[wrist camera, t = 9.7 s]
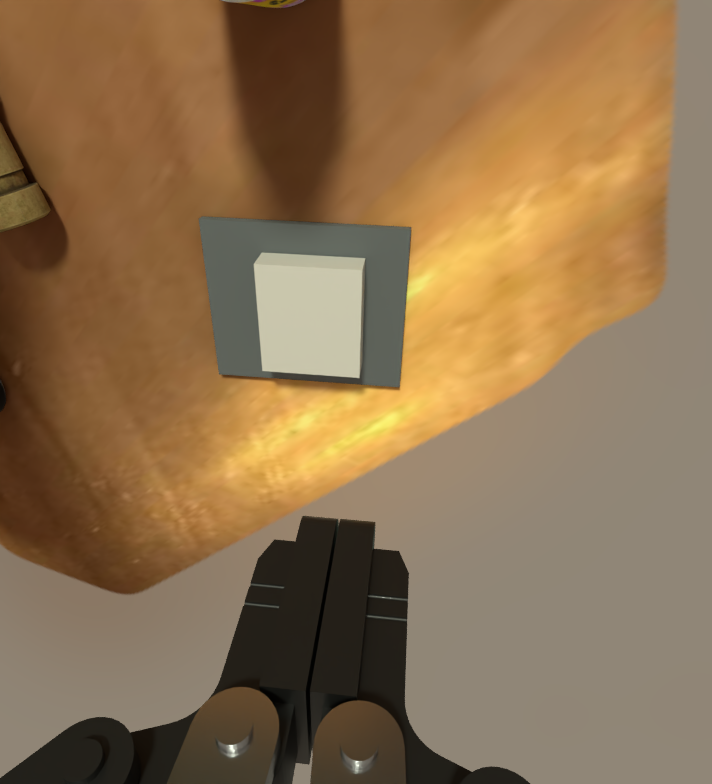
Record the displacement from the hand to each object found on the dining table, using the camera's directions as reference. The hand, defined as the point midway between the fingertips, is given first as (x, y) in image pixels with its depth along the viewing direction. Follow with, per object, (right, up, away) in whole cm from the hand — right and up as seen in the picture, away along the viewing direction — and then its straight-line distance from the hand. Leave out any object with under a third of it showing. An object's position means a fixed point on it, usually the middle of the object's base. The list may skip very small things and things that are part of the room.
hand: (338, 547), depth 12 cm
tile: (-6, +9, +28) cm, 30 cm away
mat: (-3, +9, +29) cm, 31 cm away
